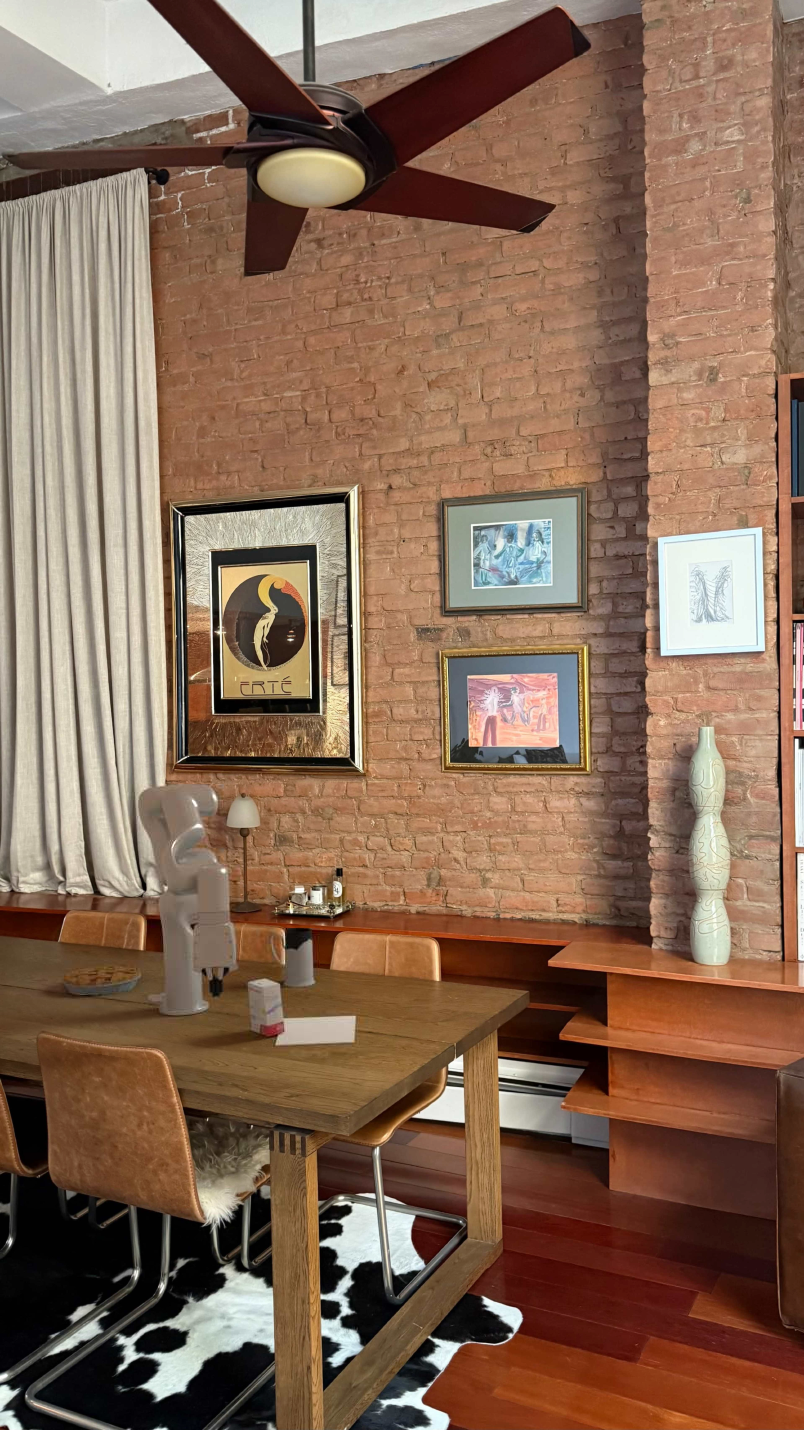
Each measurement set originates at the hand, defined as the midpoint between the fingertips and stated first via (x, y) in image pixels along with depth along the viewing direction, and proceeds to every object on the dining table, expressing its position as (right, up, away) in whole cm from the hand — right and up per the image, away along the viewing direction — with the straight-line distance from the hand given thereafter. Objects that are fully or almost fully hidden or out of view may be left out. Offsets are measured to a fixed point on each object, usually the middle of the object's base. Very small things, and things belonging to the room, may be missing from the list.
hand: (216, 995), depth 260 cm
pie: (-41, -11, +51) cm, 67 cm away
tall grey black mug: (+13, -10, +51) cm, 53 cm away
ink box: (+12, -9, +1) cm, 15 cm away
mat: (+24, -9, +1) cm, 25 cm away
